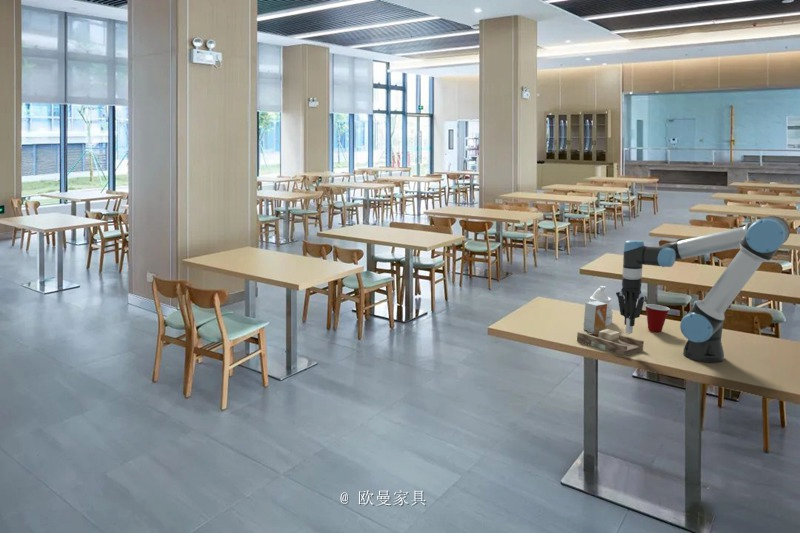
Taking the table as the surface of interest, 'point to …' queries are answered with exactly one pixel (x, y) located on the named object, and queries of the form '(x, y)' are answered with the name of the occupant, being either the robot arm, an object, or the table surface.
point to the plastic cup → (656, 317)
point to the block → (609, 335)
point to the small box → (595, 315)
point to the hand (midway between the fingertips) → (628, 333)
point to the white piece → (602, 297)
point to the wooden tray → (611, 343)
